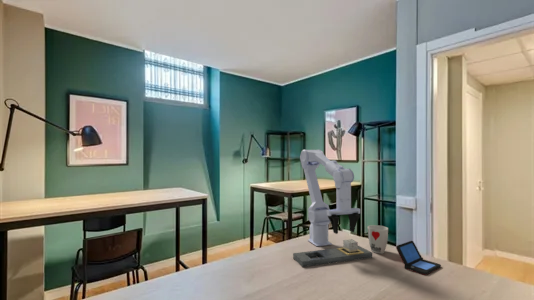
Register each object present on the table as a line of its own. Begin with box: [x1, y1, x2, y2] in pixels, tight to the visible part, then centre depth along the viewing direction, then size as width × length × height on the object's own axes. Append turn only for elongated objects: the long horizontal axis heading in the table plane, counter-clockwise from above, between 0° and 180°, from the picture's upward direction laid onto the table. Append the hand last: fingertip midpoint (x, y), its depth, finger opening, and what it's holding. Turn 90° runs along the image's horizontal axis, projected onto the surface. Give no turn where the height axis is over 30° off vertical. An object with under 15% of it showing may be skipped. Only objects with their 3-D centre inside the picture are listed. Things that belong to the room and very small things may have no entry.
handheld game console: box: [395, 240, 442, 276], centre depth 102 cm, size 12×11×7 cm
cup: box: [367, 224, 389, 254], centre depth 118 cm, size 8×8×10 cm
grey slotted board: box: [292, 245, 373, 268], centre depth 111 cm, size 9×30×2 cm, turn 107°
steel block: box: [342, 238, 359, 253], centre depth 113 cm, size 4×4×6 cm
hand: (343, 232), depth 114 cm, fingers open, 7 cm apart
